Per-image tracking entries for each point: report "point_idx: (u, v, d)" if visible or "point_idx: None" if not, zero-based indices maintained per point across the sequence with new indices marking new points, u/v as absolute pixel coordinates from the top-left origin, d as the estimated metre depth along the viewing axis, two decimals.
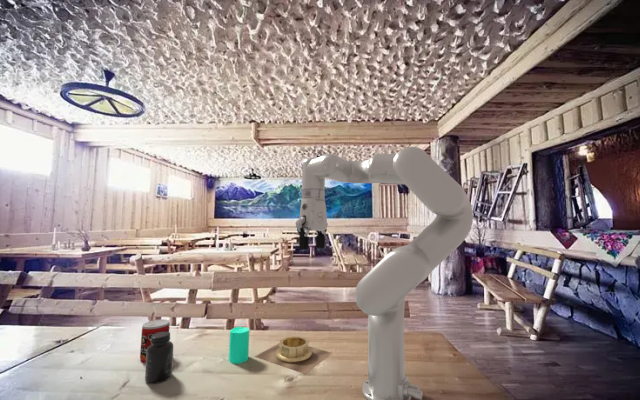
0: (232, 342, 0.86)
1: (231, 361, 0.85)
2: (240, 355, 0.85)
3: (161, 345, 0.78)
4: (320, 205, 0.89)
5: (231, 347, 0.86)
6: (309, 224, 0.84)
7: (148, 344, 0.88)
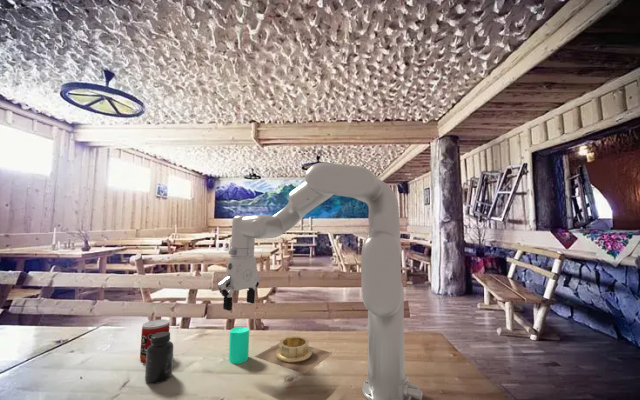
0: (232, 342, 0.86)
1: (231, 361, 0.85)
2: (240, 355, 0.85)
3: (161, 345, 0.78)
4: (247, 263, 0.89)
5: (231, 347, 0.86)
6: (233, 285, 0.85)
7: (148, 344, 0.88)
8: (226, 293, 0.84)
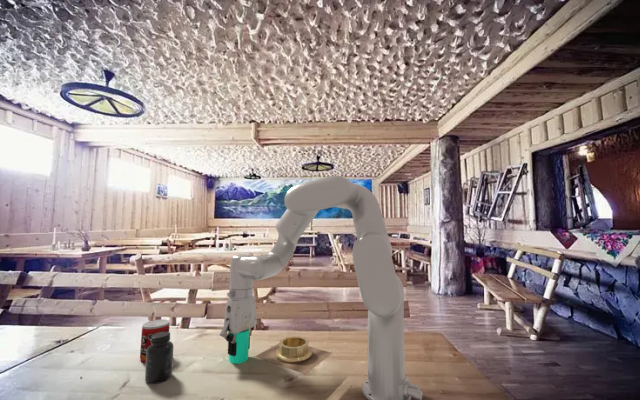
0: None
1: (231, 361, 0.85)
2: (240, 355, 0.85)
3: (161, 345, 0.78)
4: (246, 304, 0.88)
5: None
6: (231, 329, 0.83)
7: (148, 344, 0.88)
8: (230, 340, 0.84)
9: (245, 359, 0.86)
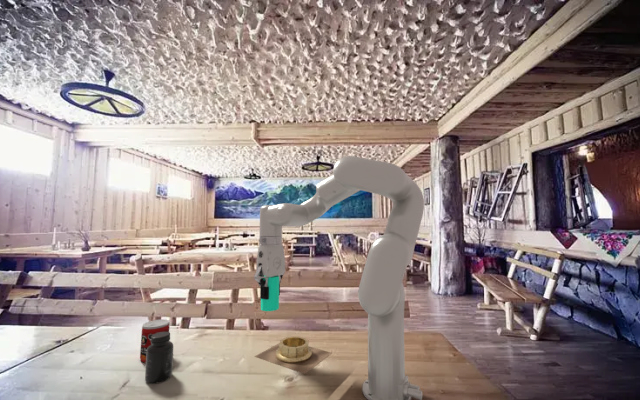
0: None
1: (264, 304, 0.88)
2: (272, 298, 0.88)
3: (161, 345, 0.78)
4: (277, 251, 0.91)
5: None
6: (264, 272, 0.87)
7: (148, 344, 0.88)
8: (263, 284, 0.87)
9: (277, 303, 0.90)
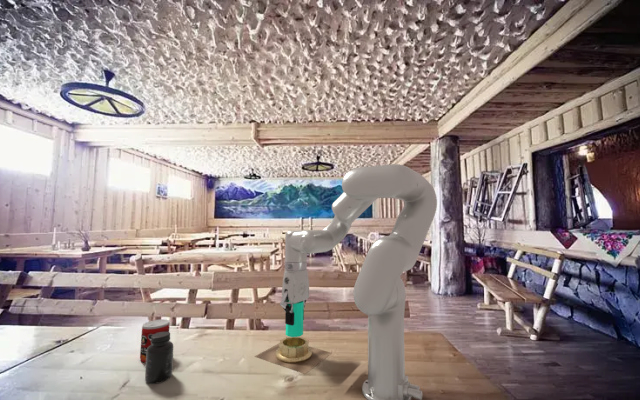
0: None
1: (289, 330, 0.89)
2: (297, 324, 0.89)
3: (161, 345, 0.78)
4: (302, 276, 0.92)
5: None
6: (290, 299, 0.88)
7: (148, 344, 0.88)
8: (288, 310, 0.88)
9: (301, 328, 0.91)
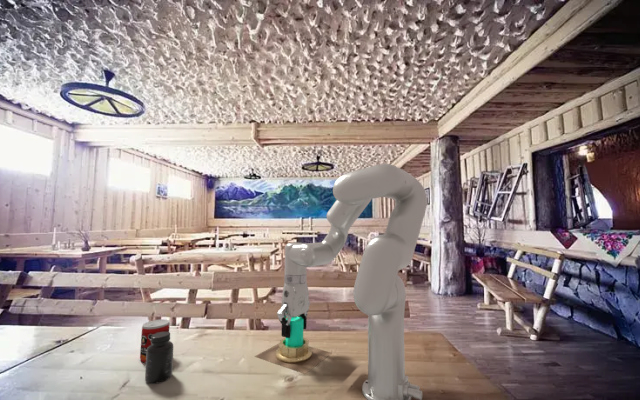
0: None
1: None
2: (297, 342, 0.89)
3: (161, 345, 0.78)
4: (301, 289, 0.92)
5: None
6: (290, 312, 0.87)
7: (148, 344, 0.88)
8: (285, 321, 0.87)
9: None
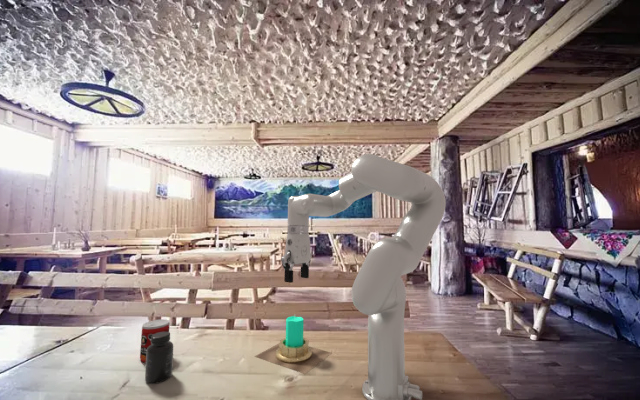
0: (289, 330, 0.89)
1: None
2: (297, 342, 0.89)
3: (161, 345, 0.78)
4: (304, 239, 0.96)
5: (288, 335, 0.89)
6: (293, 259, 0.92)
7: (148, 344, 0.88)
8: (288, 266, 0.91)
9: None
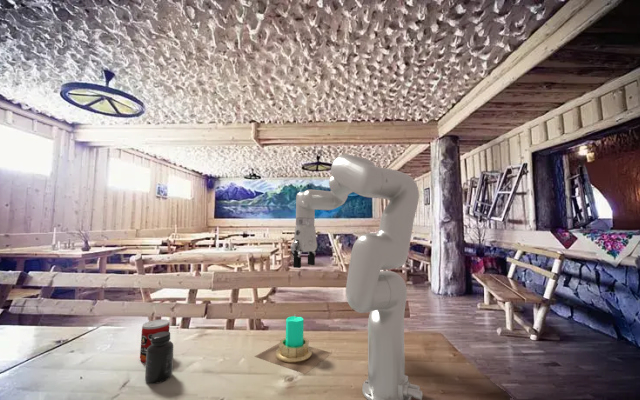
0: (289, 330, 0.89)
1: None
2: (297, 342, 0.89)
3: (161, 345, 0.78)
4: (310, 230, 1.09)
5: (288, 335, 0.89)
6: (301, 247, 1.04)
7: (148, 344, 0.88)
8: (296, 253, 1.04)
9: None
